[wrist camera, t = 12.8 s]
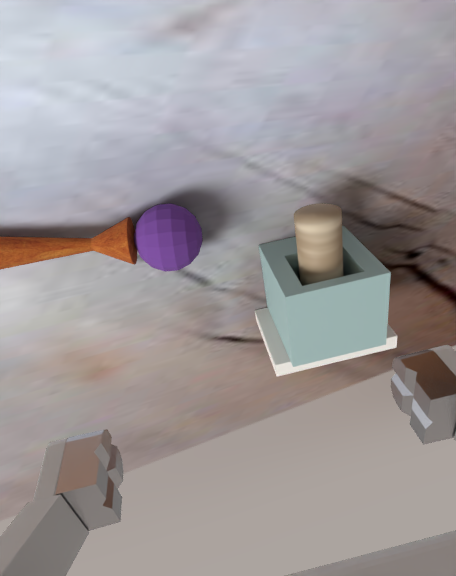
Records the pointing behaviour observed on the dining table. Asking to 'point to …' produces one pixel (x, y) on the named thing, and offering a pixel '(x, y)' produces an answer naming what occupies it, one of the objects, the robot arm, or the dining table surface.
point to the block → (326, 302)
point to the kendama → (120, 241)
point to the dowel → (319, 242)
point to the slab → (285, 366)
